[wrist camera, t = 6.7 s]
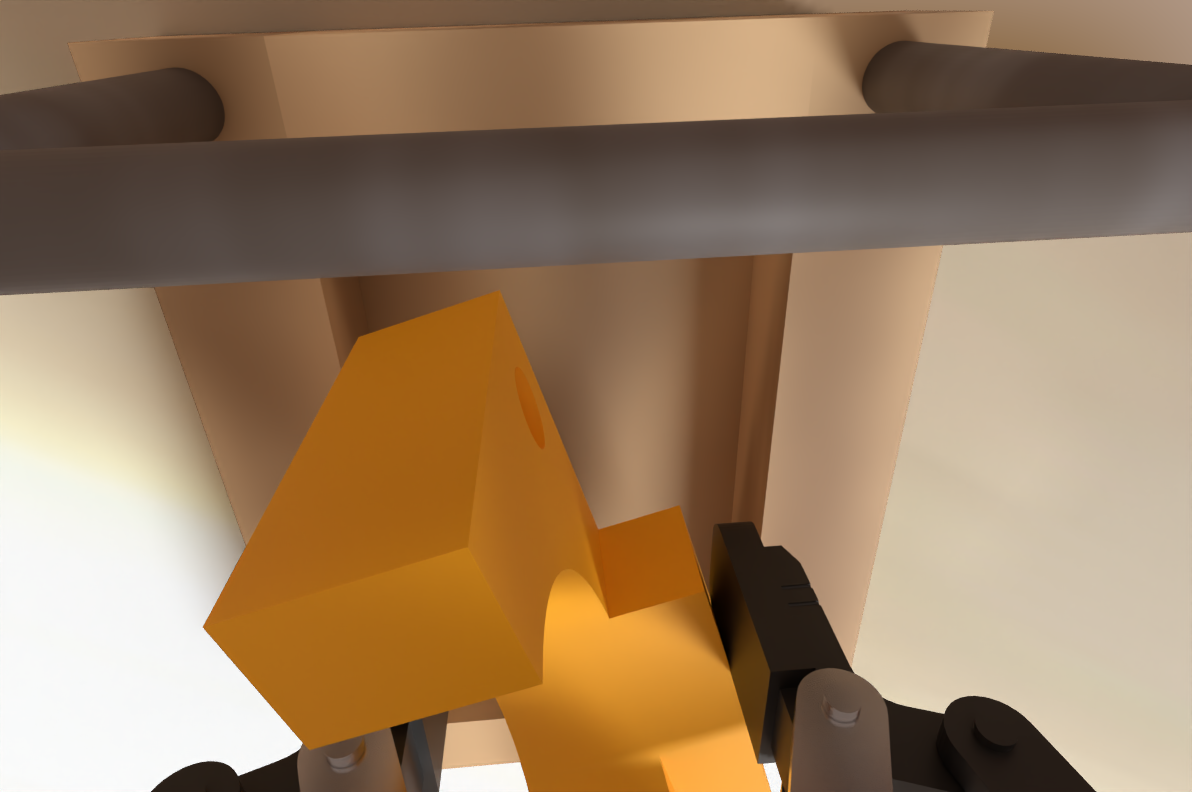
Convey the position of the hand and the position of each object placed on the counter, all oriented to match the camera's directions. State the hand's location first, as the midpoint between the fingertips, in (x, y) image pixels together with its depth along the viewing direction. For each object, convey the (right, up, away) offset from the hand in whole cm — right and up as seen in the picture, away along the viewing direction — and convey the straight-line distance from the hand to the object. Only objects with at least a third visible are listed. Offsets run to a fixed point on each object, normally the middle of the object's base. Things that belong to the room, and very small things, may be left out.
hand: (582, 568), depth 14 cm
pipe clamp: (0, 0, +1) cm, 1 cm away
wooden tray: (0, +3, +5) cm, 5 cm away
